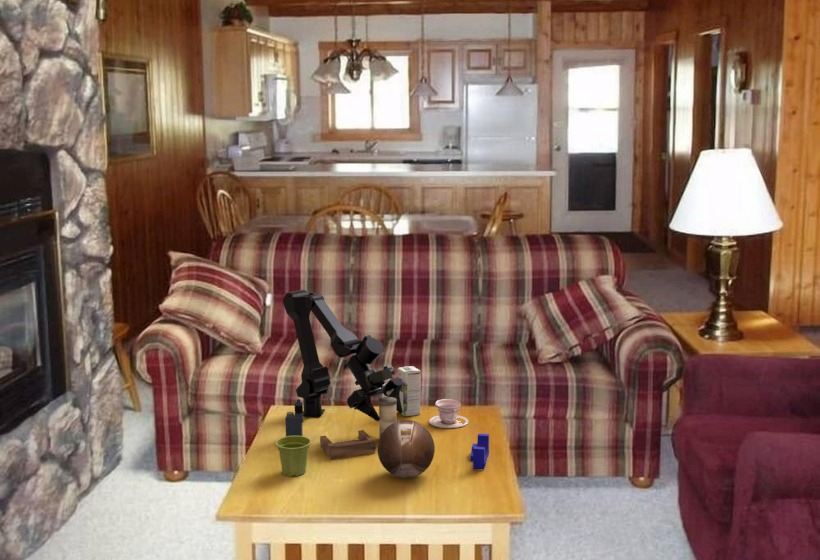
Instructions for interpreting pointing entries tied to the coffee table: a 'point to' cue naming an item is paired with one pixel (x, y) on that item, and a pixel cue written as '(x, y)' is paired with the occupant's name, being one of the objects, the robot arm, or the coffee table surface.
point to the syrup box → (410, 390)
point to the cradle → (348, 446)
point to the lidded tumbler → (387, 412)
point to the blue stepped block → (480, 451)
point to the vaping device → (295, 421)
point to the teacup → (447, 414)
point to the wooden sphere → (406, 449)
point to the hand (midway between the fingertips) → (390, 416)
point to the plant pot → (293, 454)
